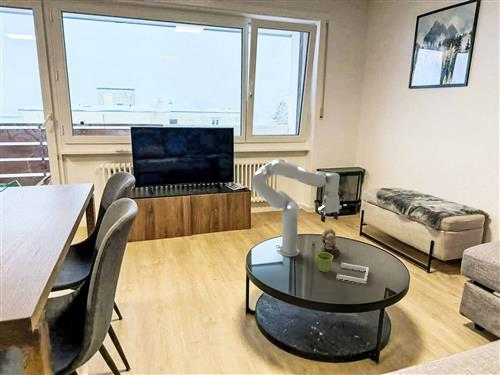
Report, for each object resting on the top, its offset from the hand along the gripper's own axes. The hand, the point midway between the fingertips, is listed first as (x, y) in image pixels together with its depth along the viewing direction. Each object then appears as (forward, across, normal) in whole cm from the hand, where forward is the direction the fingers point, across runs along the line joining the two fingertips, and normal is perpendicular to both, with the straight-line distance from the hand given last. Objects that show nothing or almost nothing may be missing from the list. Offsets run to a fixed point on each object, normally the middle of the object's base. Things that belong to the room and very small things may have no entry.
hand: (329, 220), depth 207 cm
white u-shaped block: (+23, -2, -26) cm, 35 cm away
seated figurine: (+24, +4, +2) cm, 24 cm away
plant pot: (+24, -13, -14) cm, 30 cm away
